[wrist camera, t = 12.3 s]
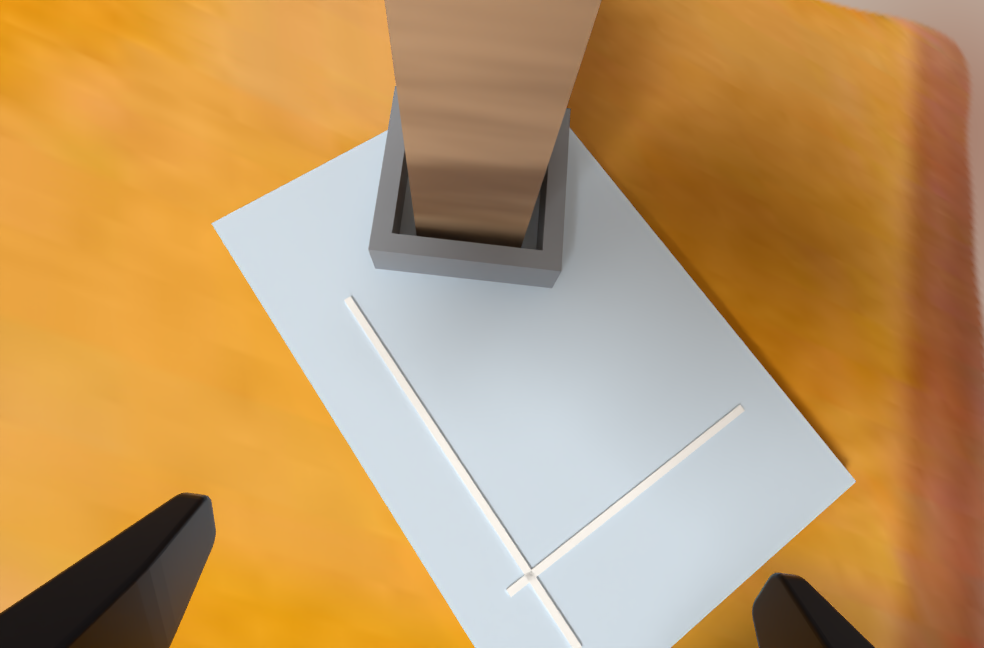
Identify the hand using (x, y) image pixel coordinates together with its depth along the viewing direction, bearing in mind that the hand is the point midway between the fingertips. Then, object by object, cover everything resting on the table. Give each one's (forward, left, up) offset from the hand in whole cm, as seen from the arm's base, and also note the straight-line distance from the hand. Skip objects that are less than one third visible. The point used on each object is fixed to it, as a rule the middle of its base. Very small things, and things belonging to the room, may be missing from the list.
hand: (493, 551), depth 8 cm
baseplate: (+4, -5, -13) cm, 15 cm away
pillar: (+11, -8, -12) cm, 18 cm away
